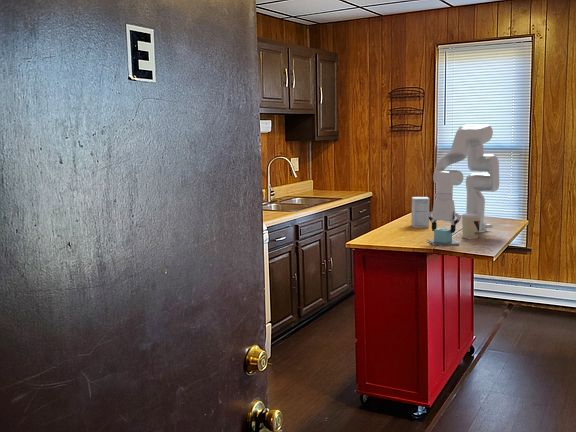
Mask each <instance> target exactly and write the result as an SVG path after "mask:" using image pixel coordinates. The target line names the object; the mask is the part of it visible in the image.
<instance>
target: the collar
mask: <svg viewBox="0 0 576 432" xmlns="http://www.w3.org/2000/svg"><path fill="white" fill-rule="evenodd" d="M441 229H446V230H441ZM433 239H434V242H441V243H448V242H451V241H452V240H453V233H451V228H444V227H439V228H436V229H434V231H433Z"/></svg>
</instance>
